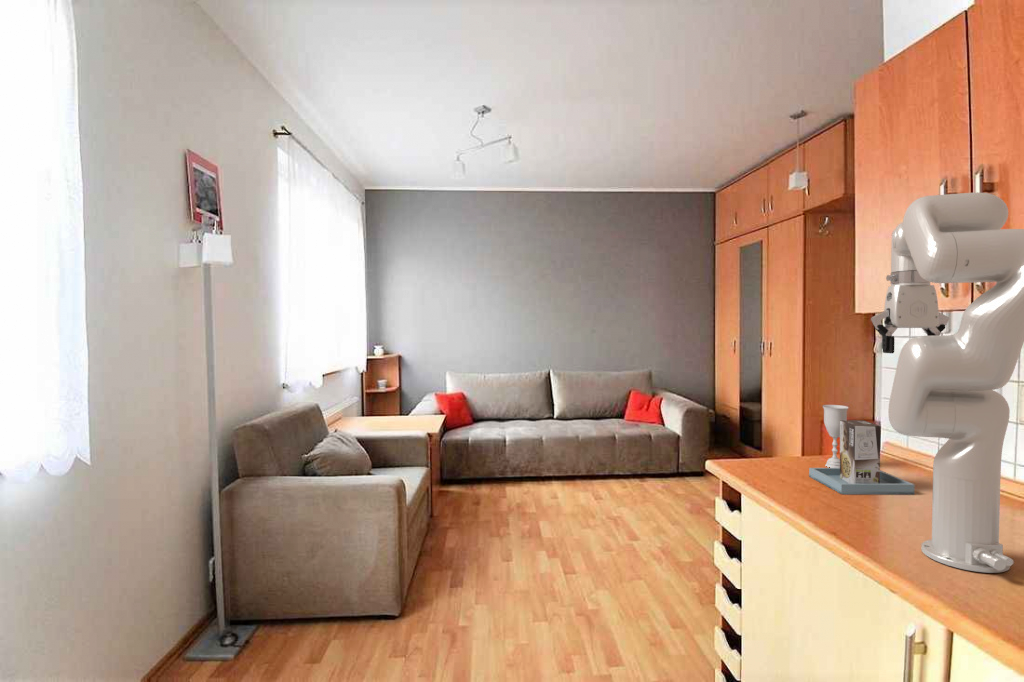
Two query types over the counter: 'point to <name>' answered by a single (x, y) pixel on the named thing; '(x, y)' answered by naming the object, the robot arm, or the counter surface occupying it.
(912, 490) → the tray
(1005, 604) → the counter surface
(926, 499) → the counter surface
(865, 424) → the coffee box
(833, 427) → the chalice
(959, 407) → the robot arm
